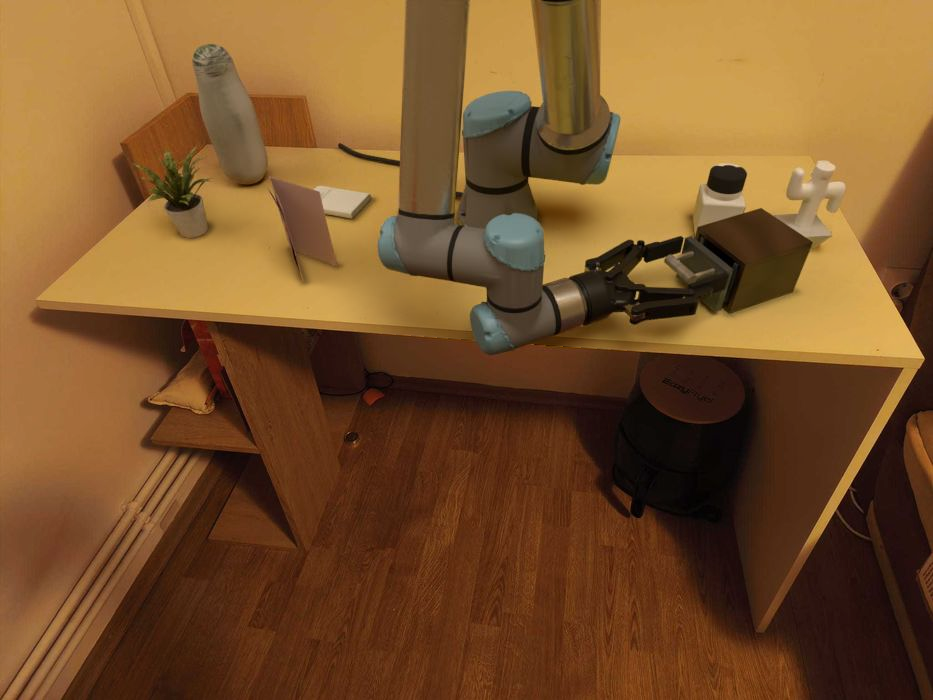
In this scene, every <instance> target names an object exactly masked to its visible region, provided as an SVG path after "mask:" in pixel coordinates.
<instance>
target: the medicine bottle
mask: <svg viewBox="0 0 933 700" xmlns="http://www.w3.org/2000/svg"><path fill="white" fill-rule="evenodd" d="M747 177H748V172H747V170H746V169H745V167H742V166H741V165H738V164H735V163H732V162H723V163H717V164H714V165H713V166H712V167H711V168H710V170H709V174H708V177H707V182H706V183H701V184H699V187H698V192H697V195H696V199H695V205H694V209H693V213H692V223H693V231H694V236H695V235H696V231H697V227H699V226H702V225H706V224H709V223H712V222H716V221H719V220H722V219H726V218H729V217H732V216H736V215H739V214H743V213H745V210H746V207H747V206H746V201H745V196H744V193H743V190H744V187H745V183H746V180H747Z"/></svg>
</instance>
